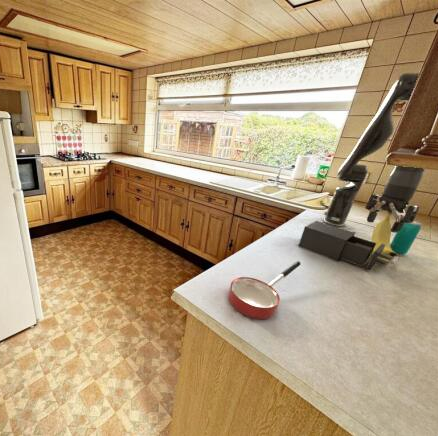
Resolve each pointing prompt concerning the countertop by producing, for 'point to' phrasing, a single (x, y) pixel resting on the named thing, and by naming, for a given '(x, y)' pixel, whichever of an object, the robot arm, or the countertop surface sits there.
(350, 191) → the robot arm
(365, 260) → the block
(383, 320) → the countertop surface
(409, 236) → the beverage can
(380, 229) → the banana
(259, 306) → the frying pan
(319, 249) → the block
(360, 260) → the basket
